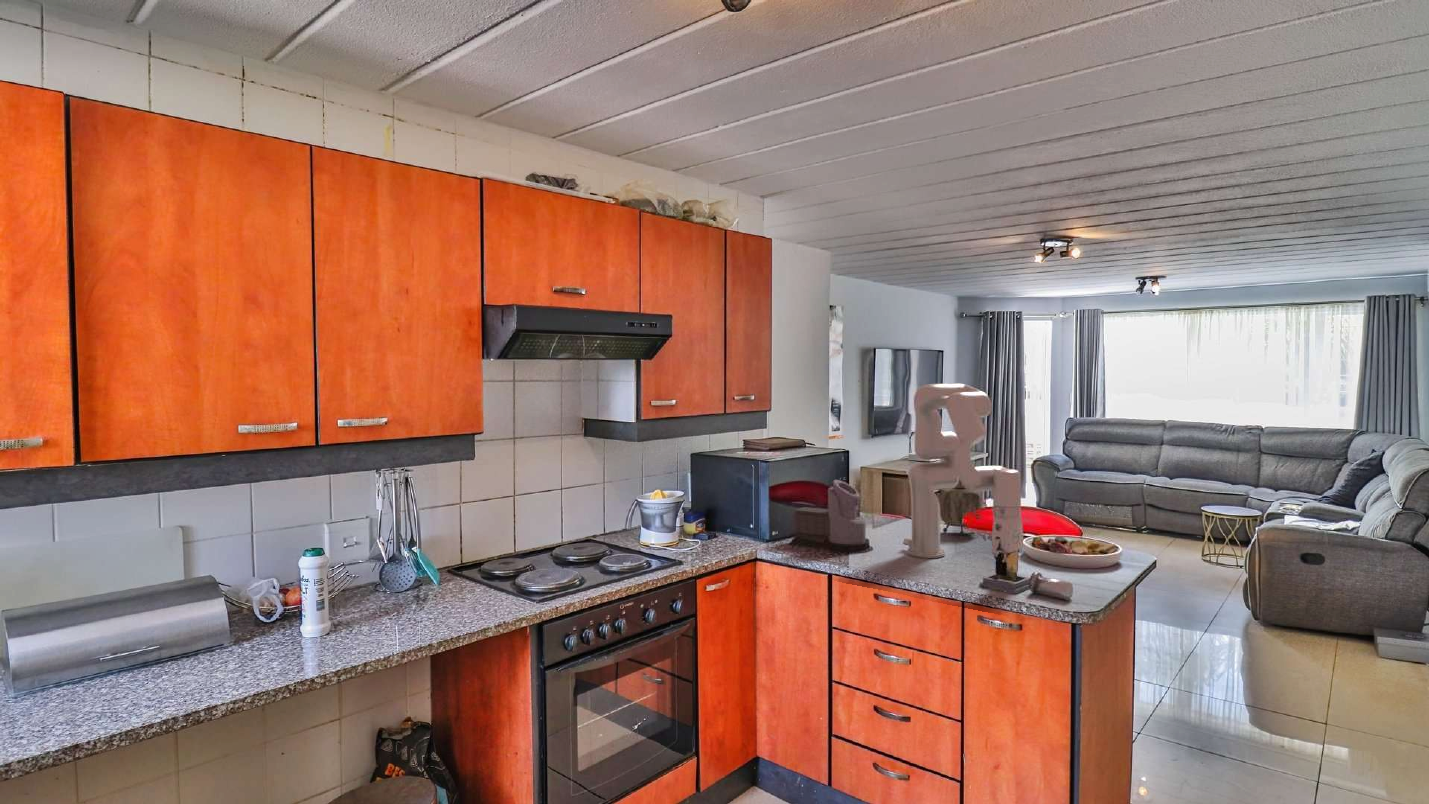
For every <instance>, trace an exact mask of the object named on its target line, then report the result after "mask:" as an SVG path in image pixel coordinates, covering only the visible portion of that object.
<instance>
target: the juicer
mask: <svg viewBox="0 0 1429 804" xmlns="http://www.w3.org/2000/svg"><path fill="white" fill-rule="evenodd" d="M792 514H793V531H794V532H795V533H796V536H794V537H793V539H792V540H791V541H790V542H789V543H788V545H790V546H796V545H797V546H798V547H805V548H810V549H811V548H812V549H819V548H824V549H823V550H826V549H827V550H826V551H829V552H832V551H834V552H833V553H839V554H852V553H854V554H853V555H859V554H865V553H866V554H867V553H869V552H872V551H874V547H873V546H871V545H870V540H869V538H866V529H867V527H866V520H865V518H864V517H863V516H862V515H861V495H860V493H859V492H858V490H857V489H856V488H854V487H853V485H850V484H849V483H847V482H845V481H842V480H839V479H834V480H833V481H832V486H831V487H829V488H828V489H827V508H817V507H807V506H803V507H799V508H797V509H795V510H794V512H793V513H792Z"/></svg>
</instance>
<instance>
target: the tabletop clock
mask: <svg viewBox="0 0 1429 804" xmlns="http://www.w3.org/2000/svg"><path fill="white" fill-rule="evenodd" d="M939 502H940V520H942V521H943V523H944V524H945V525H946V527H944V528H943V529H942V531H943V533H947V532H948V529H949V527H959V528H960V532H959V534H960V535H961V536H964V535H965V531H964V527H966V528H967V527H968V526H967V525H966V524H962V519H963V517H964V515H965V514H967V513H971V512H973V511H976V510H981V509H982V510H983V507H982V506H983V505H982V504H983V503H982V497H981V494H980V491H979V492H972V491H969V490H967V489H966V488H965V487H964V486H963V484H962V482H961V480H960V478H959V482H958V484H957V486H956V487H954V488H952V489H942V490H941V491H940V493H939ZM980 512H981V511H980ZM977 513H978V512H977ZM971 514H974V515H973V517H975V516H980V515H981V516H982V514H976V515H975V513H971ZM965 517H966V516H965ZM965 517H964V518H965ZM967 519H970V517H969V518H967ZM975 519H980V518H979V517H976V518H975Z"/></svg>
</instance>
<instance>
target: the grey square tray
mask: <svg viewBox="0 0 1429 804" xmlns="http://www.w3.org/2000/svg"><path fill="white" fill-rule="evenodd" d="M1029 581H1030V577H1029V576H1028V577H1027V576H1022V575H1018V574H1017V579H1016V580H1002V579H999V578H997V574H996V572H995V573H992V574H989V575H987V576H984V577H983V578H982V581H981V582H979V587H981V586H984V587H983V588H986V587H988V588H987V589H990V588H994V589H993V590H995V589H996V590H995V591H999V590H1000V592H1003V591H1006V592H1005V593H1008V592H1009V593H1008V594H1013V595H1017V594H1019V593H1022V592H1024V591H1027V590H1030V588H1029Z"/></svg>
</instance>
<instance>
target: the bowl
mask: <svg viewBox="0 0 1429 804" xmlns="http://www.w3.org/2000/svg"><path fill="white" fill-rule="evenodd" d="M1081 537H1082V539H1081ZM1022 550H1023V551H1024V552H1025V554H1026V555H1027V556H1028V557H1029V558H1031V559H1032V560H1034V561H1037V562H1038V563H1039V562H1040V563H1042V562H1043V564H1046V565H1050V564H1051V565H1052V566H1055V565H1058V566H1057V567H1061V566H1063V567H1064V568H1070V567H1071V569H1100V568H1102V567H1103V568H1108V567H1110V566H1113V565H1115V564H1117V563H1118V562H1119V561H1120V560H1121V558H1122V556H1123V548H1122V547H1121V546H1120V545H1118V544H1116V543H1113V542H1110V541H1107V540H1103V539H1098V538H1093V537H1087V536H1078V535H1077V536H1076V535H1064V534H1063V535H1062V534H1060V535H1059V534H1048V535H1047V534H1045V535H1034V536H1033V535H1032V536H1030V537H1029V536H1028V537H1026V538H1023V547H1022ZM1063 567H1062V568H1063ZM1103 568H1102V569H1103Z"/></svg>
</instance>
